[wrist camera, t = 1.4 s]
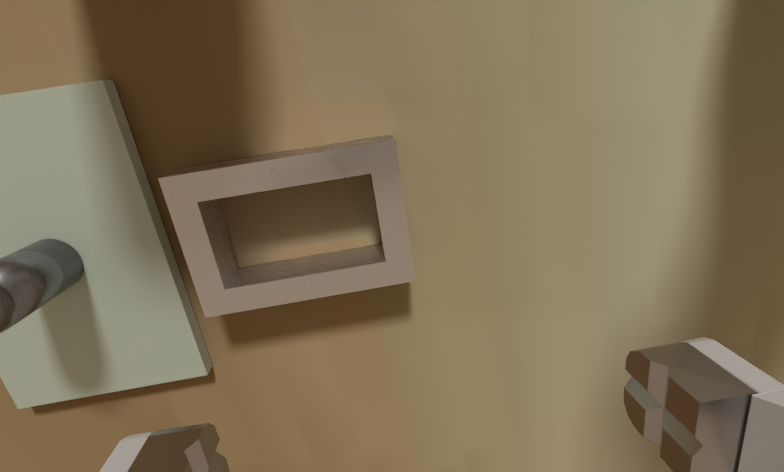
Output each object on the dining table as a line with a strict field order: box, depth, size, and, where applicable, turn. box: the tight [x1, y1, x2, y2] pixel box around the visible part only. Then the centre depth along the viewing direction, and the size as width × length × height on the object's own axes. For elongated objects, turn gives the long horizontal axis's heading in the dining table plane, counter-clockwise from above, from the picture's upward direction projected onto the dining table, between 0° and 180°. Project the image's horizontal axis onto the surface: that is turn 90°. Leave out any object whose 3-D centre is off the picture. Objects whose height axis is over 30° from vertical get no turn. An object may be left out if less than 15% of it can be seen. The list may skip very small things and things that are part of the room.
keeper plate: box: [0, 80, 213, 409], centre depth 24 cm, size 12×18×1 cm, turn 9°
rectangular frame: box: [158, 135, 416, 318], centre depth 24 cm, size 12×8×3 cm, turn 99°
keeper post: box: [0, 239, 84, 333], centre depth 20 cm, size 3×3×6 cm
